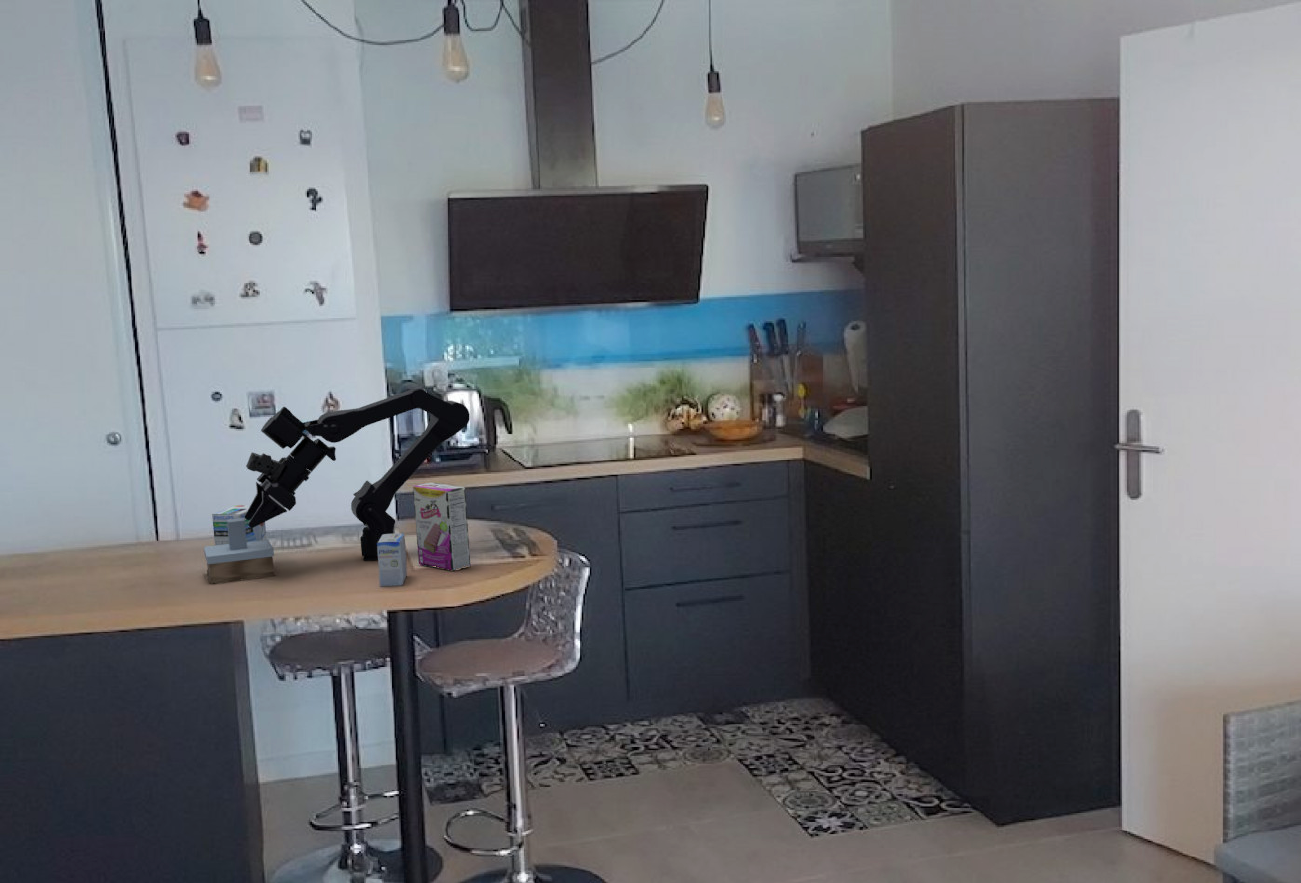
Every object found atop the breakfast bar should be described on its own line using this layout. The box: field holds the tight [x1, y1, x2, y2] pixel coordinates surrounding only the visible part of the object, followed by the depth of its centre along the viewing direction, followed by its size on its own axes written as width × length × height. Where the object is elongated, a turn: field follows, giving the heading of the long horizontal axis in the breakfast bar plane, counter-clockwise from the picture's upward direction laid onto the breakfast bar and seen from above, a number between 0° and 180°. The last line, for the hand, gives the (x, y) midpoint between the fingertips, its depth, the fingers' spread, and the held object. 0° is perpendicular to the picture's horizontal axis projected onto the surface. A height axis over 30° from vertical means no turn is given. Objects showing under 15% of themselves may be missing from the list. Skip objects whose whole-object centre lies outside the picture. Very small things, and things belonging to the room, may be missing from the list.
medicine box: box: [377, 533, 408, 588], centre depth 247 cm, size 8×4×9 cm, turn 5°
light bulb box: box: [211, 504, 268, 546], centre depth 274 cm, size 11×7×11 cm, turn 168°
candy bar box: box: [412, 482, 471, 571], centre depth 257 cm, size 11×5×16 cm, turn 48°
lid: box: [203, 518, 275, 565], centre depth 259 cm, size 13×11×7 cm
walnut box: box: [206, 556, 276, 585], centre depth 259 cm, size 12×10×4 cm
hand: (248, 522), depth 259 cm, fingers open, 9 cm apart
